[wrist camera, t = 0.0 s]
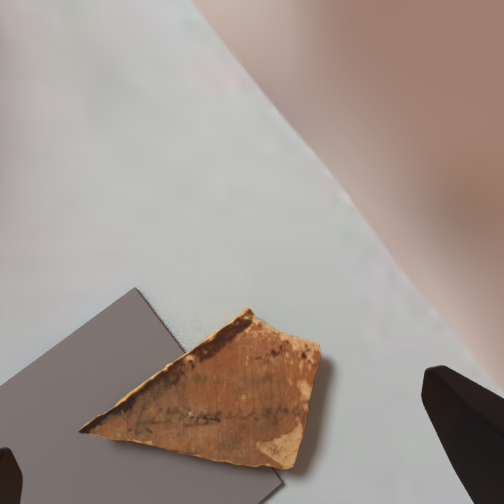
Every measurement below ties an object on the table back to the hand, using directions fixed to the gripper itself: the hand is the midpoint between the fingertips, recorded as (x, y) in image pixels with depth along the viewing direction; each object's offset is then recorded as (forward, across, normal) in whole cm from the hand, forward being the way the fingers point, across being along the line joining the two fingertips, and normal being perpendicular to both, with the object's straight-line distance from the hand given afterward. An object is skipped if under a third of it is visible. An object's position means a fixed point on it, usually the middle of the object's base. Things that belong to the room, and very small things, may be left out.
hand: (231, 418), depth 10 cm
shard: (+10, 0, +11) cm, 15 cm away
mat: (+10, +6, +12) cm, 17 cm away
